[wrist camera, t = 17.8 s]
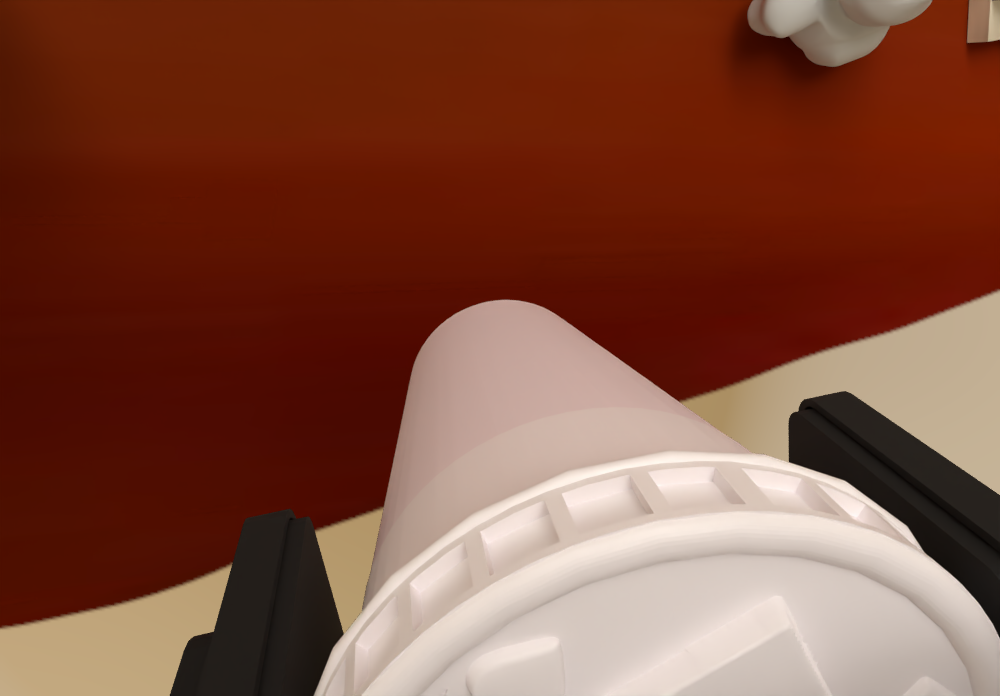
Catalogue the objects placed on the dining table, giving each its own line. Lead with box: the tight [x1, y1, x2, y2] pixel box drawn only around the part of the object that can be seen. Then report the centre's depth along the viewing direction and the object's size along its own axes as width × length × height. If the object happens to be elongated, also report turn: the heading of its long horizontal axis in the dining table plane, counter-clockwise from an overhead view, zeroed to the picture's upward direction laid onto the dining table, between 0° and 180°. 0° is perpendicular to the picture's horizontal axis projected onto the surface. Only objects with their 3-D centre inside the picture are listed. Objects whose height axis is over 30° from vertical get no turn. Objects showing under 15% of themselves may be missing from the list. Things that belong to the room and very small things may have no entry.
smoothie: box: [314, 300, 1000, 696], centre depth 9 cm, size 6×6×14 cm
